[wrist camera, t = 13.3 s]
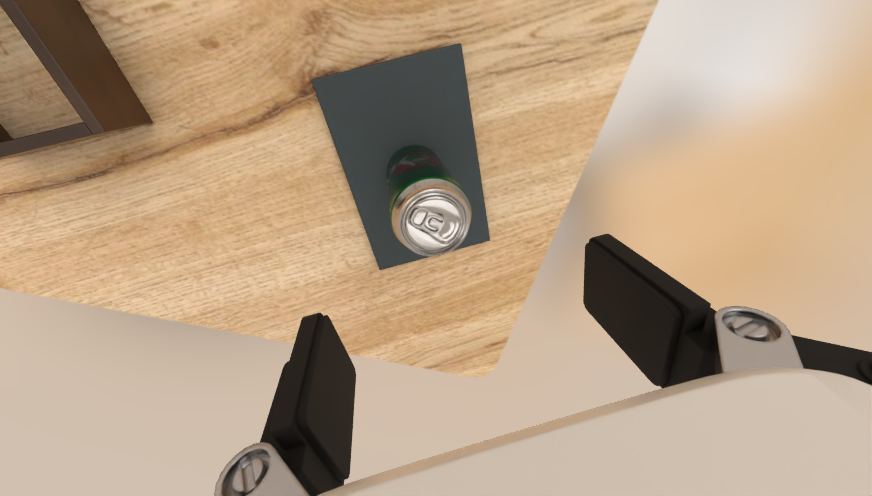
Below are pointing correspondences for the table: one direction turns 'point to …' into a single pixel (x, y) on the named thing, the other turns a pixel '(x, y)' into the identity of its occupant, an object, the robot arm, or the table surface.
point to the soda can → (426, 202)
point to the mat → (403, 135)
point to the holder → (73, 74)
